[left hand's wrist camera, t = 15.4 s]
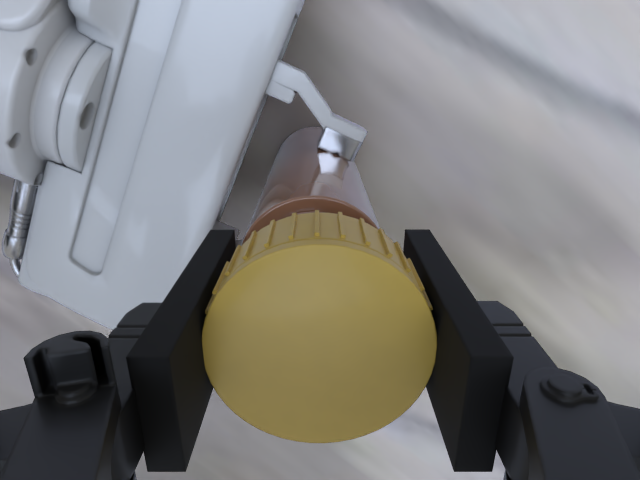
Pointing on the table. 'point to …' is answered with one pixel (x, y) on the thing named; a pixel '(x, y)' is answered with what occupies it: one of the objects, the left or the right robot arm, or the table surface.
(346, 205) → the jar
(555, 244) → the table surface
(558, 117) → the table surface
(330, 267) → the lid
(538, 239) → the table surface
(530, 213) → the table surface
